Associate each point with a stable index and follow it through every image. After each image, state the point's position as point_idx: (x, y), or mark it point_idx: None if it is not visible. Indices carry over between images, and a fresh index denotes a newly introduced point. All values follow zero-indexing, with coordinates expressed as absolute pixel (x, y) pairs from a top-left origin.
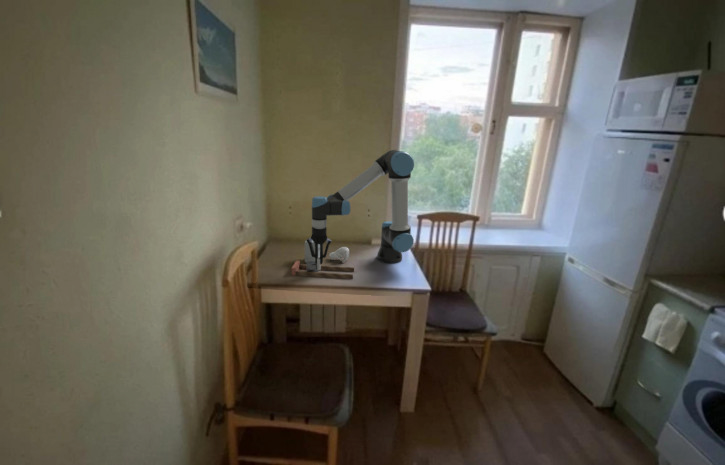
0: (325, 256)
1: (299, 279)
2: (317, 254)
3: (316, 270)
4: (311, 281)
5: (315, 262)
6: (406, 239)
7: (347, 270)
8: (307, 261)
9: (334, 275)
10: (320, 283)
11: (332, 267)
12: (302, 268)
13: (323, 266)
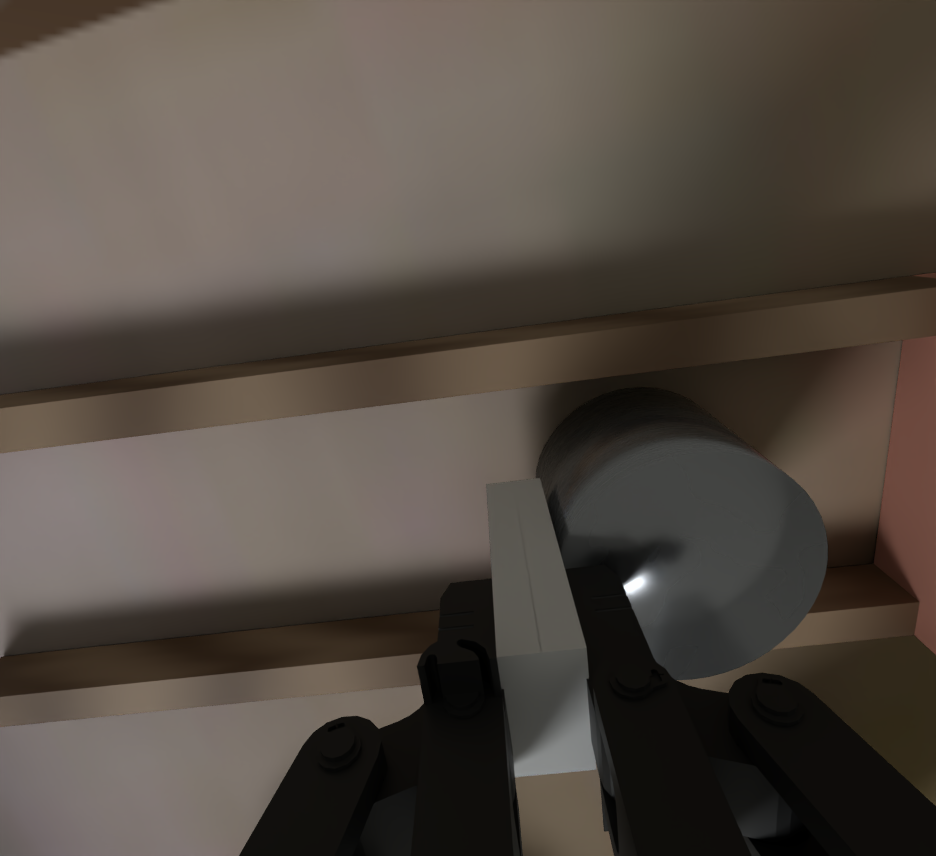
0: (301, 760)
1: (803, 100)
2: (618, 800)
3: (551, 472)
4: (539, 73)
5: (614, 583)
6: None
7: (90, 655)
8: None
9: (163, 381)
10: (331, 26)
11: (316, 656)
12: None
13: None
